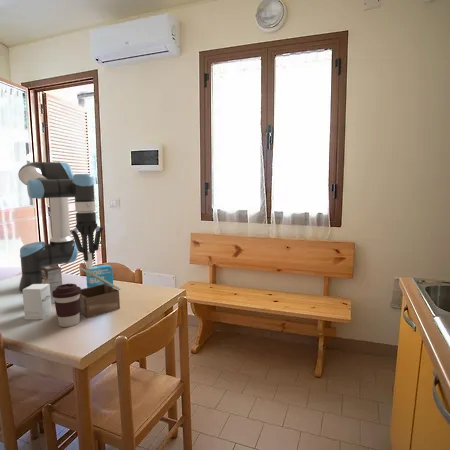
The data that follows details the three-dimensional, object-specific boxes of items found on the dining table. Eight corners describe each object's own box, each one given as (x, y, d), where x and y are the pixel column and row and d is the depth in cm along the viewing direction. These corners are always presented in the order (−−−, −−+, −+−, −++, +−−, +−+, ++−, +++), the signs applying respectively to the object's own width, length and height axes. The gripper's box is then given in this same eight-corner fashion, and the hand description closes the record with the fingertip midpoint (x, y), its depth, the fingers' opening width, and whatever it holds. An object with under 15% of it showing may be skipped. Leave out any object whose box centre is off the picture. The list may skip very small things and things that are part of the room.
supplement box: (42, 319, 130) (40, 289, 129) (24, 319, 130) (21, 289, 129) (52, 312, 138) (50, 283, 136) (35, 312, 138) (32, 283, 136)
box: (74, 308, 141) (72, 291, 140) (105, 300, 151) (104, 283, 150) (87, 318, 131) (85, 299, 130) (120, 308, 141) (118, 290, 140)
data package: (88, 293, 161) (87, 269, 159) (87, 290, 165) (85, 267, 163) (113, 288, 167) (112, 265, 166) (111, 286, 171) (110, 264, 170)
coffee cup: (54, 331, 120) (50, 291, 118) (56, 320, 129) (52, 284, 127) (83, 326, 124) (80, 288, 122) (83, 316, 133) (80, 280, 131)
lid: (78, 268, 141) (79, 266, 141) (104, 283, 150) (105, 281, 150) (92, 274, 131) (93, 273, 131) (119, 290, 139) (120, 288, 140)
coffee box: (42, 300, 152) (39, 266, 150) (56, 296, 157) (54, 263, 155) (49, 304, 146) (46, 269, 144) (64, 300, 151) (61, 267, 149)
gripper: (72, 213, 127) (77, 272, 130) (105, 211, 136) (108, 266, 139) (65, 212, 132) (70, 269, 135) (97, 210, 141) (100, 263, 144)
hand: (89, 267), depth 137 cm, fingers closed
